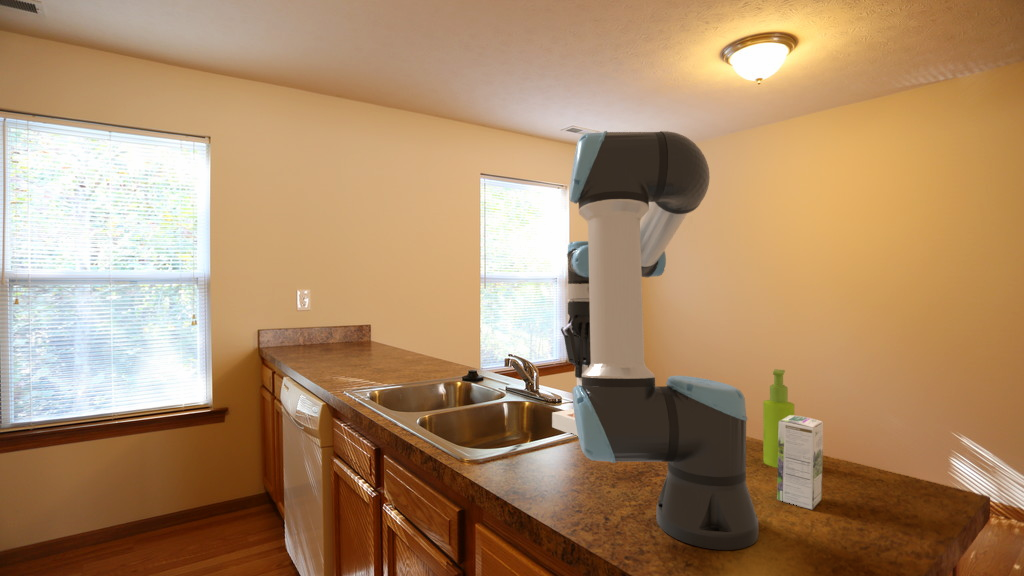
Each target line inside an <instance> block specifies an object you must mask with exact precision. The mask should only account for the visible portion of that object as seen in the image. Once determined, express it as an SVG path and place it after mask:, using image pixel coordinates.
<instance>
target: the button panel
mask: <svg viewBox="0 0 1024 576" xmlns="http://www.w3.org/2000/svg"><path fill="white" fill-rule="evenodd" d="M573 413H574V408H570V409H569V408H568V409H564V410H560V411H555V412H554V411H553V412H551V427H552V428H554V429H556V430H558V431H562V432H564V433H567V434H569V433H574V434H576V435H577V436H578V433H577V427H576V421H575V418H574V417H573ZM577 436H576V437H577Z"/></svg>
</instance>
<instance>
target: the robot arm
mask: <svg viewBox="0 0 1024 576" xmlns="http://www.w3.org/2000/svg"><path fill="white" fill-rule="evenodd" d="M574 151H575V153H574V157H573V163H572V171H571V177H570V185H569V201H570V202H571V203H574V204H575V205H576V204H578V214H579V216H580V217H582V218H583V219H584V220H585V221H586V222H587V240H577V241H571V242H569V243H568V245H567V253H566V257H567V299H568V300H569V301H568V302H567V314H568V315H569V316H568V317H569V318H568V322H567V325H566V326H564V327H561V328H560V331H561V334H562V335H563V340H564V345H565V350H566V354H567V359H568V362H569V363H570V364H572V365H574V376H575V378H576V386H574V387H572V390H571V391H572V404H573V409H574V415H575V421H576V427H577V433H578V437H577V438H578V442H579V445H580V449H581V451H582V454H583V455H584V456H585V457H586V458H587V459H588V460H591V461H594V462H595V461H596V462H611V464H616V463H617V462H621V463H622V462H623V463H624V462H625V463H626V462H629V463H633V462H634V463H635V462H639V463H640V462H641V463H642V462H643V463H644V462H647V463H651V462H652V463H653V462H654V463H658V462H659V463H661V462H663V463H665V462H667V474H666V477H665V480H664V482H663V486H662V488H661V491H660V494H659V496H658V499H657V503H656V516H655V517H656V519H655V520H656V523H657V525H658V527H659V528H660V529H661V530H662V531H663V532H664V533H666V534H667V535H669V536H670V537H672V538H674V539H675V540H679V542H681V543H685V544H688V545H692V546H695V547H699V548H704V549H709V550H718V551H720V550H721V551H730V550H740V549H745V548H747V547H750V546H752V545H754V544H755V543H756V542H757V541H758V539H759V518H758V515H757V514H756V511H755V507H754V504H753V500H752V498H751V495H750V491H749V488H748V486H747V475H746V474H747V421H748V417H747V411H746V409H747V408H746V398H745V395H744V394H743V392H742V391H741V390H739V388H738V387H735V386H733V385H731V384H727V383H725V382H720V381H717V380H712V379H708V378H703V377H702V378H701V377H694V376H689V375H688V376H686V375H671V376H669V377H668V378H667V381H666V385H663V386H656V377H655V376H656V375H655V374H654V372H652V370H650V369H649V368H648V367H647V365H646V363H645V337H644V336H645V335H644V332H645V331H644V313H643V312H644V310H643V309H644V305H643V281H642V278H646V279H647V278H651V277H660V276H662V275H663V273H664V272H665V268H666V263H667V262H666V261H667V258H666V257H667V255H666V251H665V250H666V248H667V247H668V245H669V244H670V242H671V241H672V239H673V237H674V235H675V234H676V232H677V231H678V229H679V228H680V226H681V224H682V223H683V221H684V219H685V218H686V216H687V215H688V214H690V213H692V212H694V211H695V210H696V209H697V208H698V207H699V206H700V205H701V203H702V201H703V200H704V198H705V197H706V194H707V192H708V190H709V186H710V185H709V184H710V168H709V164H708V161H707V158H706V156H705V154H704V152H702V150H701V149H700V147H699V146H698V145H697V144H696V143H695V142H694V141H693V140H691V139H689V137H687V136H685V135H683V134H680V133H678V132H675V131H674V132H673V131H668V130H667V131H665V130H664V131H663V130H661V131H608V130H605V131H602V132H601V131H600V132H587V133H584V134H583V135H581V136H580V138H578V140H577V143H576V147H575V150H574Z"/></svg>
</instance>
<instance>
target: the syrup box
mask: <svg viewBox="0 0 1024 576" xmlns="http://www.w3.org/2000/svg"><path fill="white" fill-rule="evenodd" d="M823 453H824V422H823V421H822V420H819V419H815V418H813V417H807V416H802V415H795V414H794V415H789V416H788V417H786V418H784V419H782V420H781V421H779V436H778V468H777V485H776V486H777V491H776V492H777V493H776V494H777V495H776V498H777V501H779V502H782V501H783V502H782V503H786V504H789V503H790V505H793V504H794V506H796V505H797V507H801V508H804V509H807V510H814V509H815V507H817V506H818V504H819V503H821V501H822V499H823V459H824V458H823Z"/></svg>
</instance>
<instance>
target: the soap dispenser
mask: <svg viewBox="0 0 1024 576" xmlns="http://www.w3.org/2000/svg"><path fill="white" fill-rule="evenodd" d="M785 373H786V370H785V369H778V368H777V369H776V368H775V369H773V371H772V375H773V377H774V378H773V384H771V385H770V386H769V399H767V400H763V403H762V406H763V412H762V413H763V417H762V418H763V419H762V420H763V423H762V425H763V426H762V427H763V434H762V435H763V437H762V438H763V439H762V440H763V445H762V446H763V447H762V448H763V455H762V456H763V460H762V461H763V462H762V463H764V464H765V465H766V466H769V467H771V468H776V469H778V436H779V421H781V420H782V419H784V418H786V417H788V416H789V415H794V416H795V404H794V403H793V402H791V401H788V400H789V399H788V396H789V395H788V393H789V391H788V390H789V389H788V387H787V386H786V385H785V384H784V375H785Z"/></svg>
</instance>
